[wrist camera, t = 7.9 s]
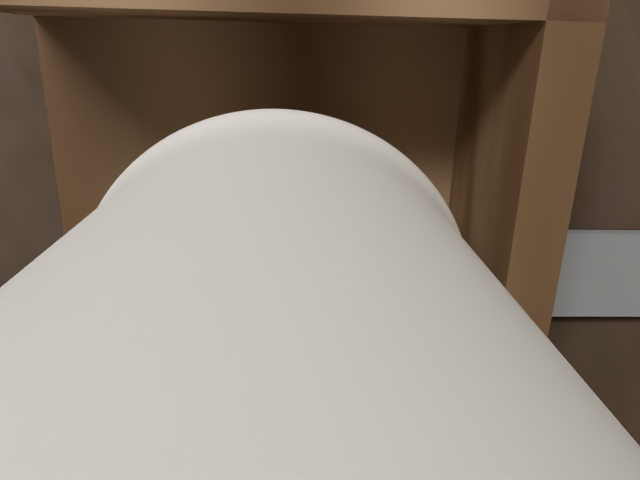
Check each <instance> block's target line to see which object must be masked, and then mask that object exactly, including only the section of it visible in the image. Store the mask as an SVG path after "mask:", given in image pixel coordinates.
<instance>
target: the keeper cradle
mask: <svg viewBox="0 0 640 480" xmlns="http://www.w3.org/2000/svg"><path fill="white" fill-rule="evenodd" d="M610 2H611V0H0V12H5V13H14V14H23V15H32V16H33V19H34V26H35V33H36V40H37V48H38V55H39V62H40V69H41V76H42V83H43V90H44V97H45V104H46V112H47V119H48V126H49V133H50V140H51V147H52V154H53V161H54V168H55V176H56V183H57V190H58V197H59V204H60V211H61V218H62V225H63V232H64V235H65V234H66V233H68V232H69V231H70V230H71V229H72V228H74V227H75V226H76V225H77V224H79V223H80V222H81V221H82V220H83V219H85V218H86V217H87V216H88V215H89V214H91V213H92V212H93V211H94V210H95V209H97V208H98V206H99V204H100V202H101V201H102V199H103V197H104V196H105V194H106V193H107V191H108V190H109V189H110V187H111V186H112V185H113V183H114V182H115V181H116V180H117V178H118V177H119V176H120V175H121V174H122V173H123V172H124V171H125V169H126V168H127V167H128V166H129V165H130V164H131V163H133V162H134V161H135V160H136V159H137V158H138V157H139V156H140V155H142V154H143V153H144V152H145V151H147V150H148V149H149V148H151V147H152V146H154V145H155V144H156V143H158V142H159V141H161V140H163V139H164V138H166V137H168V136H169V135H171V134H173V133H175V132H177V131H179V130H181V129H183V128H185V127H187V126H190V125H192V124H194V123H197V122H200V121H202V120H205V119H208V118H212V117H215V116H219V115H223V114H227V113H232V112H238V111H245V110H254V109H291V110H300V111H307V112H313V113H317V114H322V115H326V116H330V117H333V118H336V119H340V120H342V121H345V122H348V123H351V124H353V125H355V126H358V127H360V128H362V129H364V130H366V131H368V132H370V133H372V134H374V135H376V136H378V137H379V138H381V139H383V140H384V141H386V142H387V143H389V144H390V145H392V146H393V147H395V148H396V149H397V150H399V151H400V152H401V153H402V154H404V155H405V156H406V157H407V158H408V159H410V160H411V161H412V162H413V163H414V164H415V165H416V166H417V167H418V168H419V169H420V170H421V171H422V172H423V173H424V174H425V175H426V176H427V178H428V179H429V180H430V181H431V182H432V184H433V185H434V186H435V187H436V189H437V190H438V192H439V193H440V194H441V196H442V198H443V199H444V201H445V202H446V204H447V206H448V207H449V209H450V211H451V213H452V215H453V217H454V219H455V221H456V224H457V226H458V228H459V231H460V234H461V236H462V238H463V239H464V240H465V241H466V243H467V244H468V245H469V246H470V247H471V249H472V250H473V251H474V252H475V253H476V254H477V256H478V257H479V258H480V259H481V260H482V261H483V263H484V264H485V265H486V266H487V267H488V269H489V270H490V271H491V272H492V273H493V274H494V276H495V277H496V278H497V279H498V280H499V281H500V283H501V284H502V285H503V286H504V287H505V289H506V290H507V291H508V292H509V293H510V294H511V296H512V297H513V298H514V299H515V300H516V301H517V303H518V304H519V305H520V306H521V307H522V309H523V310H524V311H525V312H526V313H527V314H528V316H529V317H530V318H531V319H532V320H533V321H534V323H535V324H536V325H537V326H538V327H539V329H540V330H541V331H542V332H543V333H544V334H545V336H546V337H547V338H548V335H549V329H550V324H551V318H552V313H553V308H554V302H555V297H556V292H557V286H558V281H559V276H560V270H561V265H562V260H563V254H564V249H565V243H566V238H567V233H568V227H569V222H570V217H571V211H572V206H573V201H574V195H575V190H576V185H577V179H578V174H579V168H580V163H581V158H582V152H583V147H584V142H585V136H586V131H587V126H588V120H589V115H590V110H591V104H592V99H593V93H594V88H595V83H596V77H597V72H598V67H599V61H600V56H601V51H602V45H603V40H604V35H605V29H606V24H607V18H608V13H609V8H610Z"/></svg>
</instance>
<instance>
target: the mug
mask: <svg viewBox="0 0 640 480" xmlns="http://www.w3.org/2000/svg"><path fill="white" fill-rule="evenodd" d="M0 480H640V446H639V445H638V444H637V443H636V441H635V440H634V439H633V438H632V437H631V436H630V434H629V433H628V432H627V431H626V430H625V429H624V427H623V426H622V425H621V424H620V423H619V421H618V420H617V419H616V418H615V417H614V416H613V414H612V413H611V412H610V411H609V410H608V409H607V407H606V406H605V405H604V404H603V403H602V401H601V400H600V399H599V398H598V397H597V396H596V394H595V393H594V392H593V391H592V390H591V389H590V387H589V386H588V385H587V384H586V383H585V381H584V380H583V379H582V378H581V377H580V376H579V374H578V373H577V372H576V371H575V370H574V369H573V367H572V366H571V365H570V364H569V363H568V361H567V360H566V359H565V358H564V357H563V356H562V354H561V353H560V352H559V351H558V350H557V349H556V347H555V346H554V345H553V344H552V343H551V341H550V340H549V339H548V338H547V337H546V336H545V334H544V333H543V332H542V331H541V330H540V329H539V327H538V326H537V325H536V324H535V323H534V321H533V320H532V319H531V318H530V317H529V316H528V314H527V313H526V312H525V311H524V310H523V309H522V307H521V306H520V305H519V304H518V303H517V301H516V300H515V299H514V298H513V297H512V296H511V294H510V293H509V292H508V291H507V290H506V289H505V287H504V286H503V285H502V284H501V283H500V281H499V280H498V279H497V278H496V277H495V276H494V274H493V273H492V272H491V271H490V270H489V269H488V267H487V266H486V265H485V264H484V263H483V261H482V260H481V259H480V258H479V257H478V256H477V254H476V253H475V252H474V251H473V250H472V249H471V247H470V246H469V245H468V244H467V243H466V241H465V240H464V239H463V238H462V236H461V234H460V231H459V228H458V226H457V224H456V221H455V219H454V217H453V215H452V213H451V211H450V209H449V207H448V206H447V204H446V202H445V201H444V199H443V198H442V196H441V194H440V193H439V192H438V190H437V189H436V187H435V186H434V185H433V184H432V182H431V181H430V180H429V179H428V178H427V176H426V175H425V174H424V173H423V172H422V171H421V170H420V169H419V168H418V167H417V166H416V165H415V164H414V163H413V162H412V161H411V160H410V159H408V158H407V157H406V156H405V155H404V154H402V153H401V152H400V151H399V150H397V149H396V148H395V147H393V146H392V145H390V144H389V143H387V142H386V141H384V140H383V139H381V138H379V137H378V136H376V135H374V134H372V133H370V132H368V131H366V130H364V129H362V128H360V127H358V126H355V125H353V124H351V123H348V122H345V121H342V120H340V119H336V118H333V117H330V116H326V115H322V114H317V113H313V112H307V111H300V110H291V109H254V110H245V111H238V112H232V113H227V114H223V115H219V116H215V117H212V118H208V119H205V120H202V121H200V122H197V123H194V124H192V125H190V126H187V127H185V128H183V129H181V130H179V131H177V132H175V133H173V134H171V135H169V136H168V137H166V138H164V139H163V140H161V141H159V142H158V143H156V144H155V145H154V146H152V147H151V148H149V149H148V150H147V151H145V152H144V153H143V154H142V155H140V156H139V157H138V158H137V159H136V160H135V161H134V162H133V163H131V164H130V165H129V166H128V167H127V168H126V169H125V171H124V172H123V173H122V174H121V175H120V176H119V177H118V178H117V180H116V181H115V182H114V183H113V185H112V186H111V187H110V189H109V190H108V191H107V193H106V194H105V196H104V197H103V199H102V201H101V202H100V204H99V206H98V208H97V209H95V210H94V211H93V212H92V213H91V214H89V215H88V216H87V217H86V218H85V219H83V220H82V221H81V222H80V223H79V224H77V225H76V226H75V227H74V228H72V229H71V230H70V231H69V232H68V233H66V234H65V235H64V236H63V237H61V238H60V239H59V240H58V241H57V242H55V243H54V244H53V245H52V246H51V247H49V248H48V249H47V250H46V251H44V252H43V253H42V254H41V255H40V256H38V257H37V258H36V259H35V260H33V261H32V262H31V263H30V264H29V265H27V266H26V267H25V268H24V269H23V270H21V271H20V272H19V273H18V274H16V275H15V276H14V277H13V278H12V279H10V280H9V281H8V282H7V283H5V284H4V285H3V286H2V287H1V288H0Z"/></svg>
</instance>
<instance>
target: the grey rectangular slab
mask: <svg viewBox="0 0 640 480" xmlns="http://www.w3.org/2000/svg"><path fill="white" fill-rule="evenodd" d="M552 317H640V230H568V233H567V238H566V243H565V249H564V254H563V260H562V265H561V270H560V276H559V281H558V286H557V292H556V297H555V302H554V308H553V313H552Z"/></svg>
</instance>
